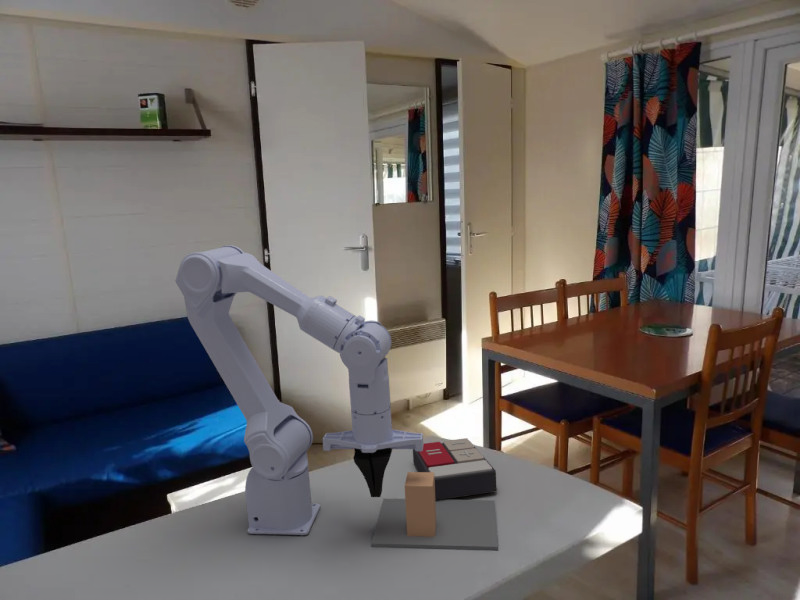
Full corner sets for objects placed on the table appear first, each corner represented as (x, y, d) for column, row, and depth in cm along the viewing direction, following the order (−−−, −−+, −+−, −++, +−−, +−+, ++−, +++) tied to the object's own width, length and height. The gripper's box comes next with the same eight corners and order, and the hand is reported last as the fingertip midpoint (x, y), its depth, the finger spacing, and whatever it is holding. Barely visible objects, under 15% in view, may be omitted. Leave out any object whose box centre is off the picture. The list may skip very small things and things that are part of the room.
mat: (371, 546, 83) (371, 543, 83) (383, 501, 95) (383, 498, 95) (498, 550, 81) (497, 546, 81) (494, 503, 92) (494, 500, 92)
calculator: (468, 435, 109) (496, 466, 94) (469, 457, 109) (497, 491, 95) (411, 442, 107) (430, 475, 92) (413, 465, 107) (432, 501, 93)
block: (407, 536, 84) (404, 485, 83) (410, 520, 88) (407, 472, 86) (434, 536, 84) (432, 486, 82) (436, 520, 88) (434, 472, 86)
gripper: (314, 418, 80) (322, 507, 83) (418, 418, 78) (423, 509, 81) (326, 399, 87) (333, 482, 90) (422, 399, 85) (426, 483, 88)
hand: (376, 493), depth 86 cm, fingers closed
